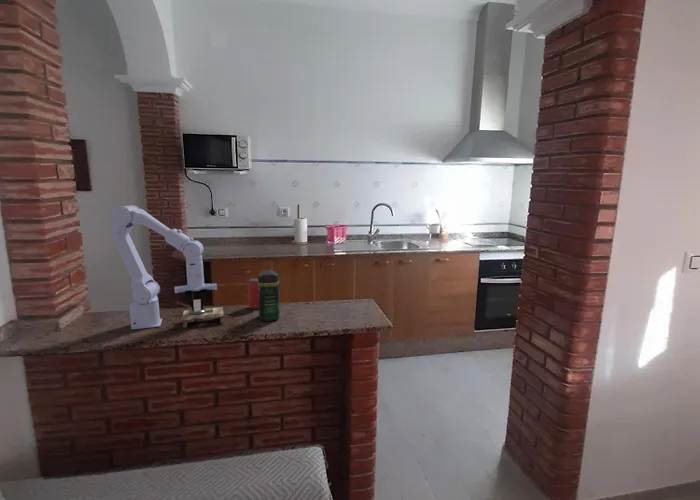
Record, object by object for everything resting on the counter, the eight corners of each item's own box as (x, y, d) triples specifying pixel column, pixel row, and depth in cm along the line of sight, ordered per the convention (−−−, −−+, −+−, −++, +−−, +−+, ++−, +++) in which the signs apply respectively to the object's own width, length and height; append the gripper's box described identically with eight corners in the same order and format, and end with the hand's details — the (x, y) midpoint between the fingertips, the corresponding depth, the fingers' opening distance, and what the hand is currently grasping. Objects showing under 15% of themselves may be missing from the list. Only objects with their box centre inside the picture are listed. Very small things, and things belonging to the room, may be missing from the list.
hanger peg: (189, 323, 142) (188, 304, 141) (190, 317, 148) (188, 299, 147) (206, 321, 144) (205, 302, 143) (206, 316, 150) (205, 298, 149)
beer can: (246, 306, 166) (245, 279, 164) (261, 303, 170) (260, 276, 168) (252, 310, 161) (251, 282, 158) (267, 307, 164) (266, 279, 162)
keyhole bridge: (183, 328, 141) (182, 317, 140) (184, 320, 148) (183, 310, 148) (223, 323, 146) (223, 313, 145) (223, 316, 153) (222, 306, 152)
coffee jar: (280, 321, 149) (279, 273, 145) (259, 322, 147) (257, 274, 143) (278, 312, 158) (277, 268, 155) (258, 314, 156) (256, 269, 153)
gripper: (172, 278, 137) (175, 315, 139) (216, 275, 142) (218, 310, 144) (174, 273, 143) (177, 309, 146) (215, 270, 148) (217, 305, 151)
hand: (197, 309), depth 145 cm, fingers closed on hanger peg, 2 cm apart
